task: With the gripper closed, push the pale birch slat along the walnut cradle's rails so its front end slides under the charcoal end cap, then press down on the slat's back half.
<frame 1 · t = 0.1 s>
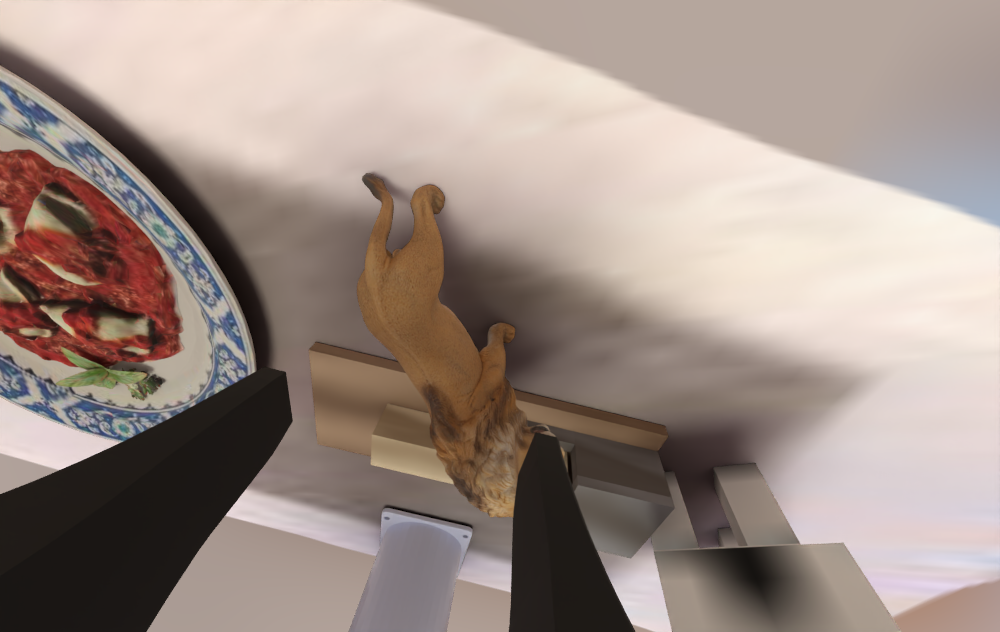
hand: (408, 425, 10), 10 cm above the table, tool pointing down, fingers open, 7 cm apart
lion figurine: (472, 298, 20), on the table
toy llama: (696, 498, 27), on the table
cradle: (475, 430, 25), on the table
slat: (473, 439, 24), point 1 cm above the table, touching cradle
ceramic plate: (75, 279, 23), on the table
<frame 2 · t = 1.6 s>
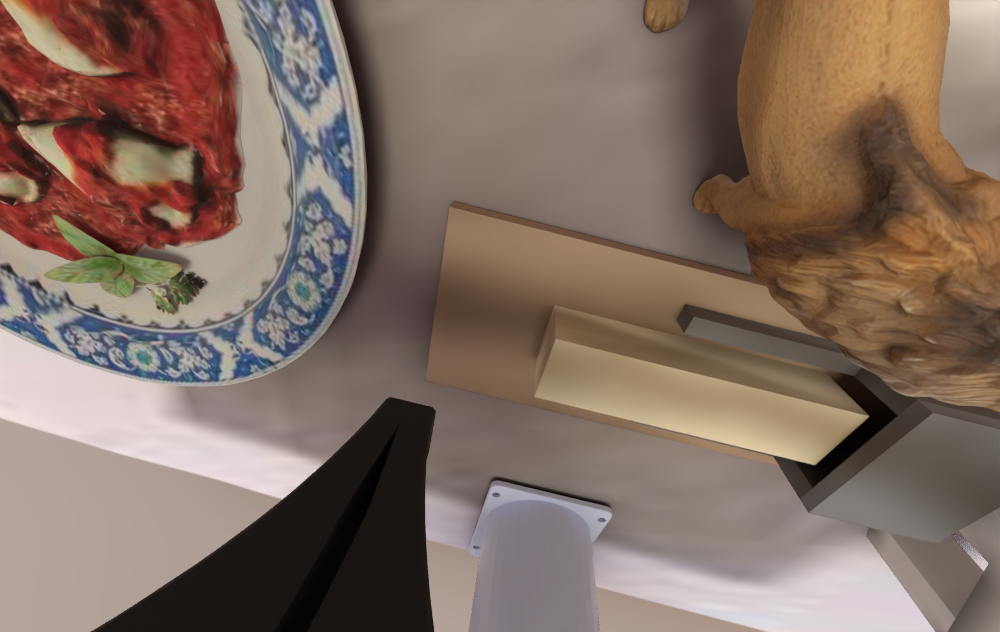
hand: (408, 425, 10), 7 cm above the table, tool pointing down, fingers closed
lion figurine: (749, 80, 11), on the table
toy llama: (970, 460, 18), on the table
cradle: (669, 354, 17), on the table
slat: (674, 365, 16), point 1 cm above the table, touching cradle
ceramic plate: (76, 103, 14), on the table
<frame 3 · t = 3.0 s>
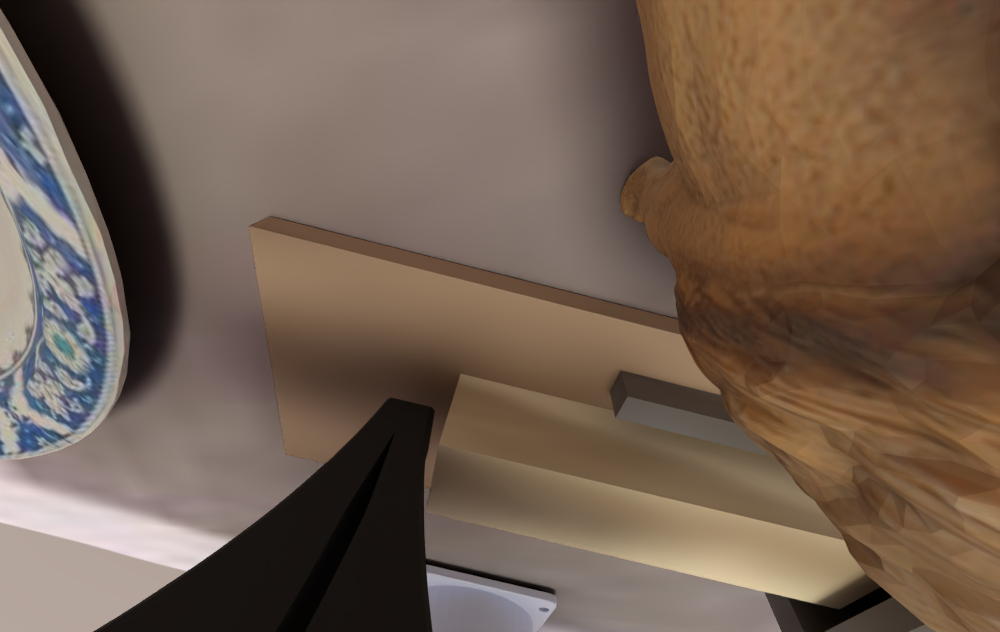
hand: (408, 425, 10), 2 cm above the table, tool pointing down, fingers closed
cradle: (610, 428, 12), on the table
slat: (638, 453, 11), point 1 cm above the table, touching cradle, gripper
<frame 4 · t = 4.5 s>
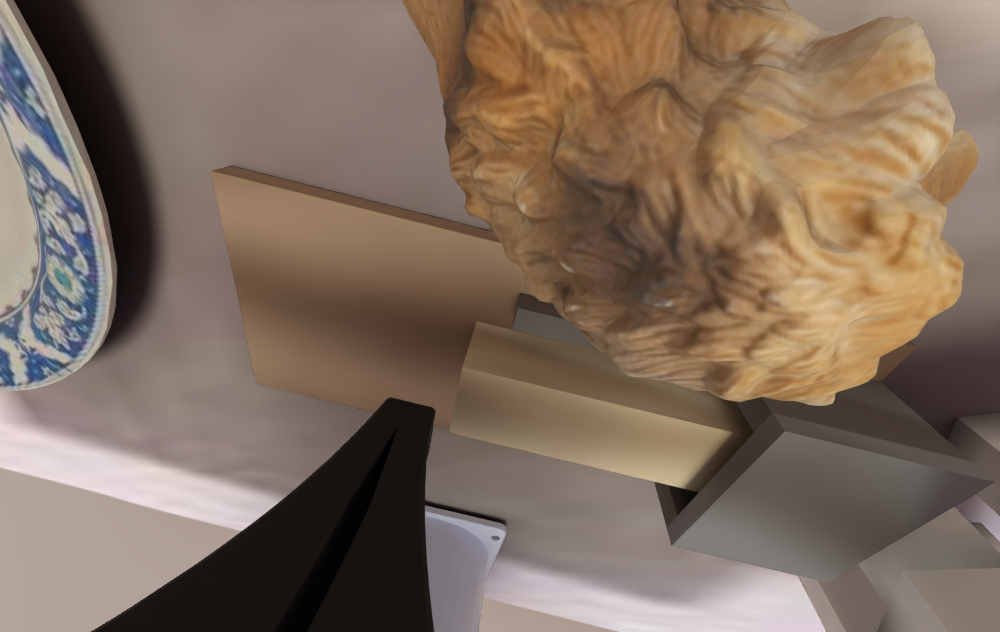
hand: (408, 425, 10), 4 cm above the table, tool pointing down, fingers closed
toy llama: (892, 476, 16), on the table
cradle: (527, 353, 14), on the table
slat: (624, 391, 14), point 1 cm above the table, touching cradle
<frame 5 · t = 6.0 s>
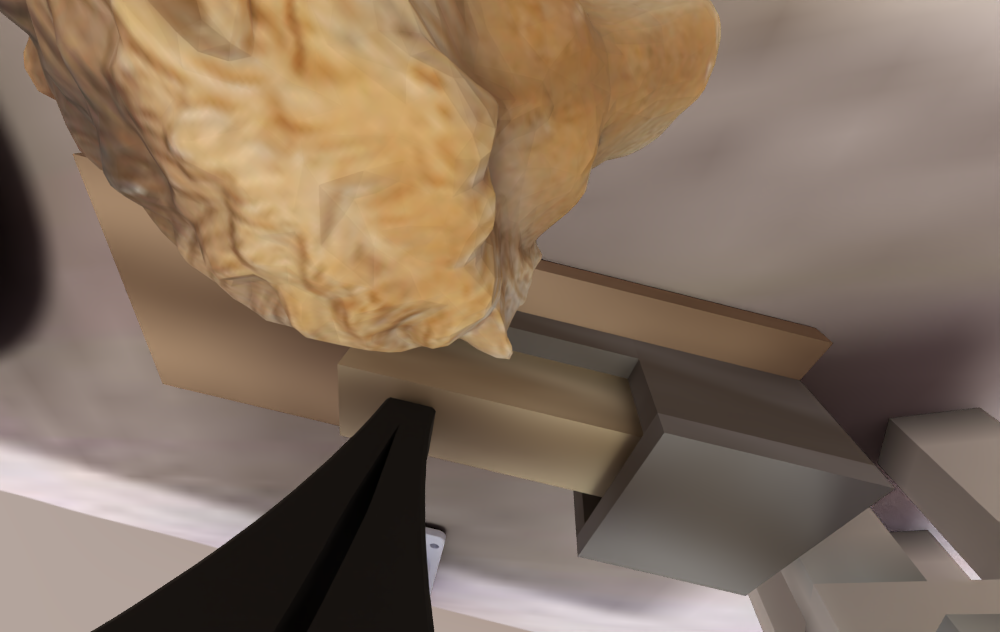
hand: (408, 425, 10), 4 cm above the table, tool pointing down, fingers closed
toy llama: (832, 481, 15), on the table
cradle: (439, 351, 13), on the table
slat: (538, 390, 13), point 1 cm above the table, touching cradle
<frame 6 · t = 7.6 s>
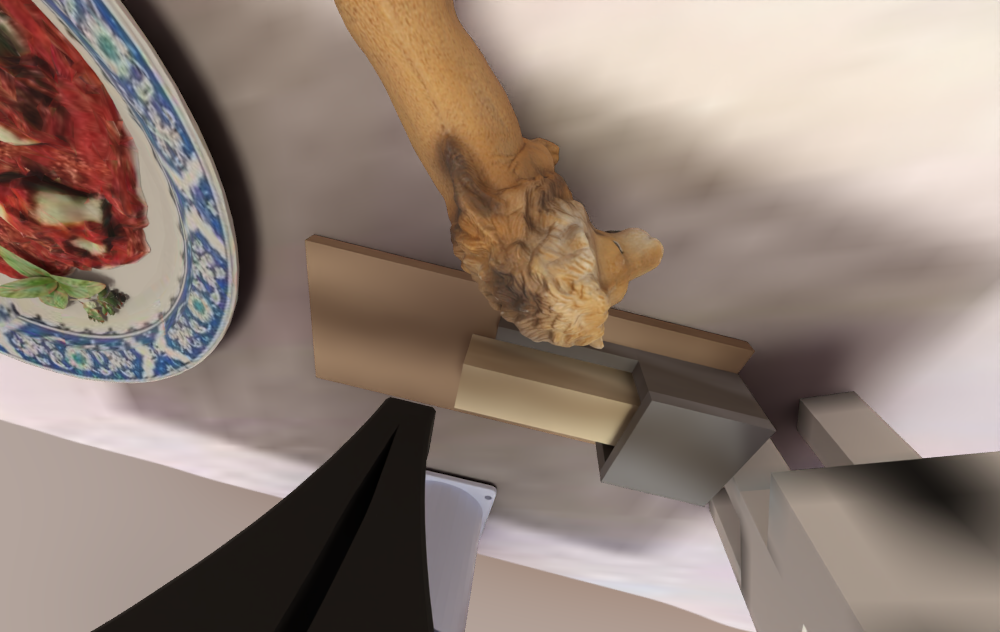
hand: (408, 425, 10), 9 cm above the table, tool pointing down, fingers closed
lion figurine: (498, 105, 14), on the table
toy llama: (770, 443, 22), on the table
cradle: (508, 355, 21), on the table
slat: (573, 381, 20), point 1 cm above the table, touching cradle
ceramic plate: (13, 156, 18), on the table
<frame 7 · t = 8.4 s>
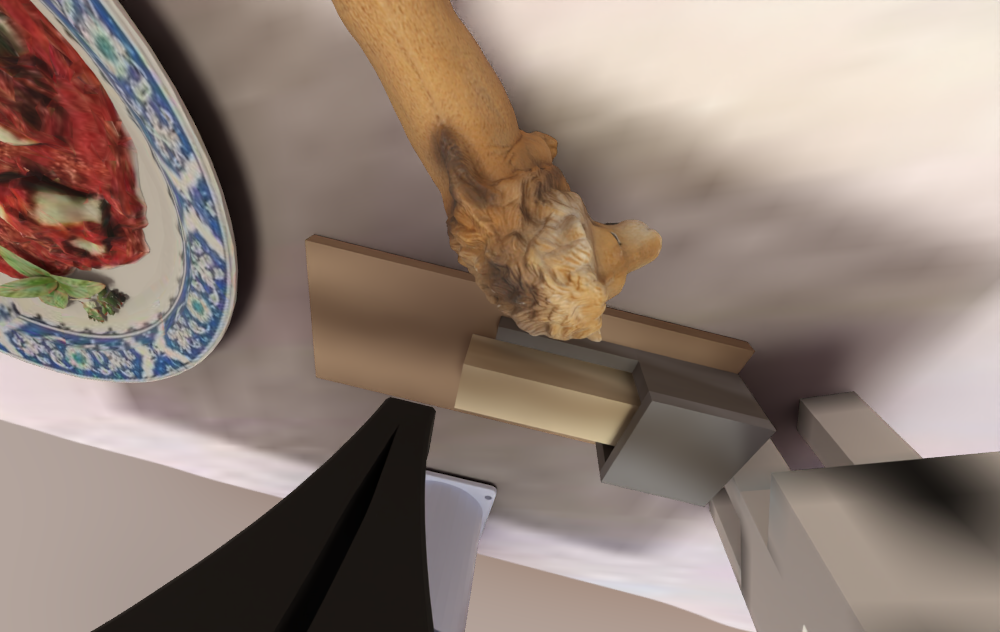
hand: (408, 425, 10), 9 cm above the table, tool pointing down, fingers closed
lion figurine: (496, 99, 14), on the table
toy llama: (770, 443, 22), on the table
cradle: (508, 355, 21), on the table
slat: (573, 381, 20), point 1 cm above the table, touching cradle
ceramic plate: (13, 156, 18), on the table
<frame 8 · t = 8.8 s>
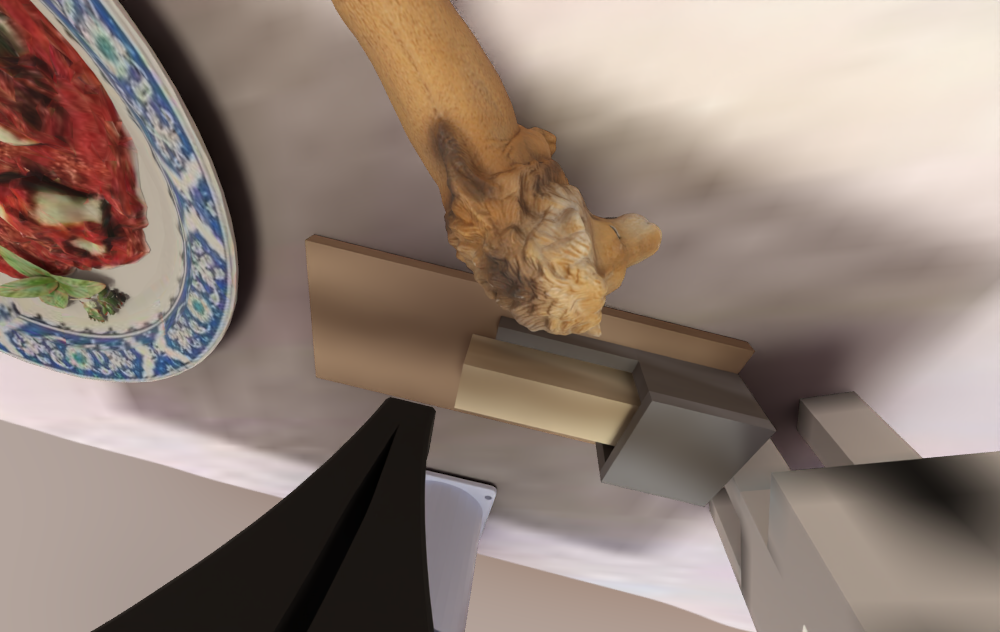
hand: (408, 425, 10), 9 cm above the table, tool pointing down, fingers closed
lion figurine: (494, 95, 14), on the table
toy llama: (770, 443, 22), on the table
cradle: (508, 355, 21), on the table
slat: (573, 381, 20), point 1 cm above the table, touching cradle
ceramic plate: (12, 156, 18), on the table
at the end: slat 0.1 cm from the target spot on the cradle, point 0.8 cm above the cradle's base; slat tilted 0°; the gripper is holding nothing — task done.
